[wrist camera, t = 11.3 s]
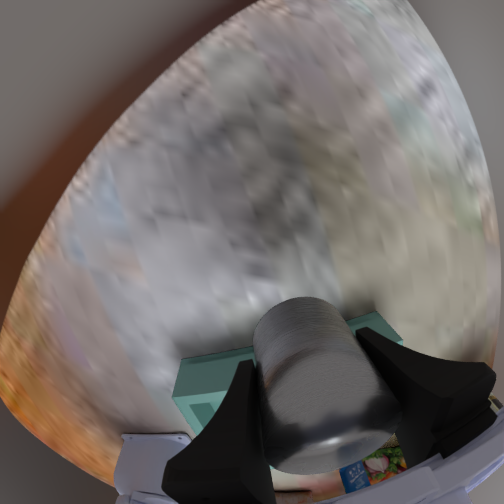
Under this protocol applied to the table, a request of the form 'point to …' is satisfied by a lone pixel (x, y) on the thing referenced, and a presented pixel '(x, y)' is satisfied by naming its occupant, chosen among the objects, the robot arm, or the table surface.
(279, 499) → the food item
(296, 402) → the metal cylinder
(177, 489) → the robot arm
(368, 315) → the tote
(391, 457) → the blue food package
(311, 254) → the table surface
